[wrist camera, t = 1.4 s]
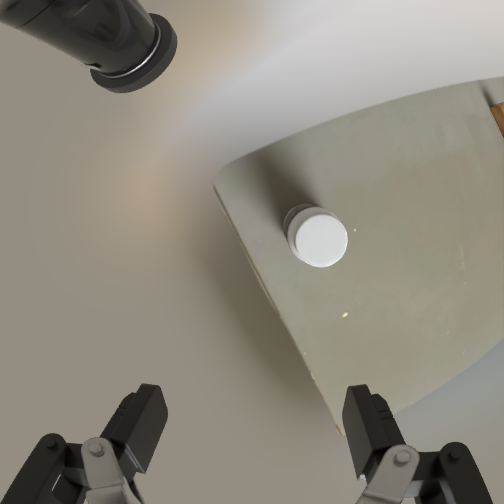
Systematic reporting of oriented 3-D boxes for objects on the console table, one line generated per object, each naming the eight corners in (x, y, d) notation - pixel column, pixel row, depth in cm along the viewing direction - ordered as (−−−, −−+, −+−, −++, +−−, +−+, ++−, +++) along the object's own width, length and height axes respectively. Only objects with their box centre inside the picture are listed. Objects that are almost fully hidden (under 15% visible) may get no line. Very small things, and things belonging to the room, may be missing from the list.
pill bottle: (275, 238, 28) (278, 258, 20) (293, 195, 27) (305, 198, 19) (317, 255, 28) (335, 281, 20) (335, 214, 27) (361, 225, 19)
